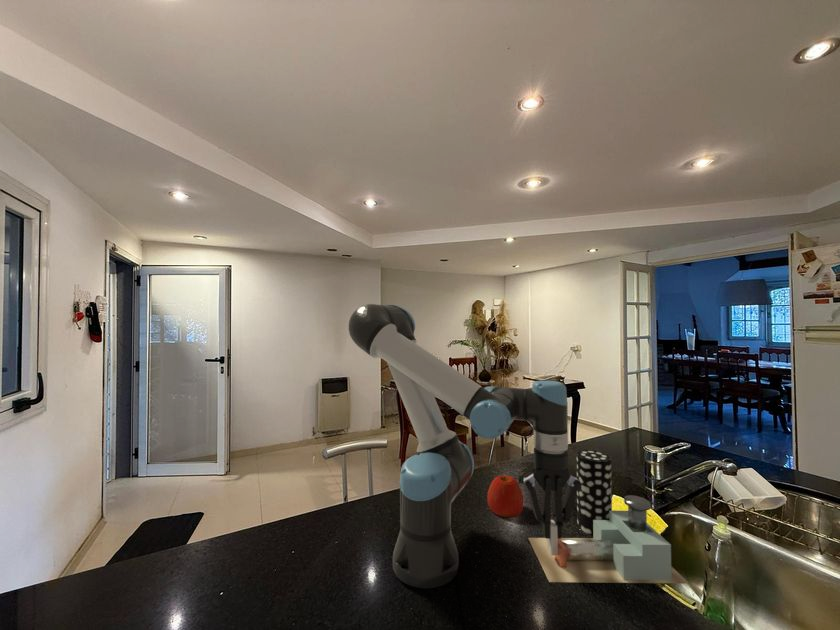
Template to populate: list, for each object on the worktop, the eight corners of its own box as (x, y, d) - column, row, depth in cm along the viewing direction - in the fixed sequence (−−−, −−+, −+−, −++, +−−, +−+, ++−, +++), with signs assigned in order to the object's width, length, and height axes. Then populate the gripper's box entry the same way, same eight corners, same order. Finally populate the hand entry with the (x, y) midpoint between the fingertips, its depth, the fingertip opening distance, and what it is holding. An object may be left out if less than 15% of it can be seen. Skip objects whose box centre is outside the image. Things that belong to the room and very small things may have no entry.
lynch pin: (560, 567, 78) (560, 549, 78) (550, 548, 84) (550, 532, 85) (621, 568, 78) (621, 550, 78) (606, 549, 84) (606, 532, 84)
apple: (508, 500, 109) (508, 466, 109) (531, 517, 100) (531, 480, 100) (480, 507, 105) (480, 472, 105) (501, 526, 96) (501, 487, 96)
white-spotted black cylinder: (616, 542, 88) (616, 462, 89) (581, 538, 90) (580, 460, 90) (606, 523, 97) (605, 450, 97) (574, 520, 98) (573, 448, 99)
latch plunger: (632, 532, 79) (632, 506, 79) (619, 519, 84) (619, 495, 84) (656, 533, 78) (655, 506, 79) (641, 519, 84) (641, 495, 84)
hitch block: (623, 579, 74) (623, 544, 75) (593, 540, 88) (593, 510, 88) (671, 580, 74) (670, 544, 74) (633, 540, 88) (633, 510, 88)
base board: (549, 586, 74) (549, 581, 74) (528, 541, 89) (528, 537, 89) (688, 587, 73) (688, 583, 73) (643, 542, 88) (643, 538, 88)
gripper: (527, 454, 78) (528, 562, 77) (586, 454, 78) (588, 562, 77) (518, 443, 85) (519, 541, 85) (572, 442, 85) (574, 541, 85)
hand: (552, 551), depth 81 cm, fingers closed
